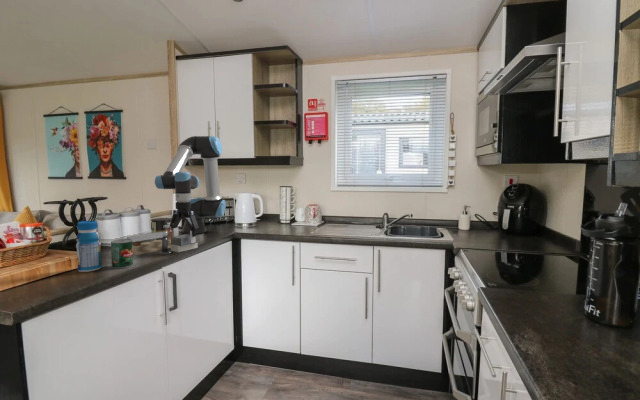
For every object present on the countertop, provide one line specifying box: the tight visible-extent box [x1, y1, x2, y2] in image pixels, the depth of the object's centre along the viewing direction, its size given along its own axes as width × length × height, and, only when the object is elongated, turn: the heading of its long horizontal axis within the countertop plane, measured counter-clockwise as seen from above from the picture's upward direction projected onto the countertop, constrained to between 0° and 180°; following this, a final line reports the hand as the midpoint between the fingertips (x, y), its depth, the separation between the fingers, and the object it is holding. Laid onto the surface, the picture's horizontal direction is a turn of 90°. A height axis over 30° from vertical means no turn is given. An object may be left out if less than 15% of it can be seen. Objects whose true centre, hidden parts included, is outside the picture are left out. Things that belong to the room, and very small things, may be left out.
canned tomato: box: [110, 238, 134, 269], centre depth 140 cm, size 8×8×11 cm
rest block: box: [170, 241, 199, 253], centre depth 171 cm, size 12×6×3 cm, turn 150°
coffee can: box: [150, 217, 172, 241], centre depth 185 cm, size 10×10×14 cm
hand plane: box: [132, 231, 173, 256], centre depth 169 cm, size 22×6×8 cm, turn 150°
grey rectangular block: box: [171, 233, 198, 246], centre depth 171 cm, size 10×8×4 cm
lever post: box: [158, 237, 173, 256], centre depth 162 cm, size 6×6×8 cm
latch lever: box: [126, 231, 168, 243], centre depth 155 cm, size 19×3×2 cm, turn 143°
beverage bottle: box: [75, 220, 102, 273], centre depth 134 cm, size 8×8×20 cm
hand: (184, 241), depth 171 cm, fingers open, 13 cm apart
